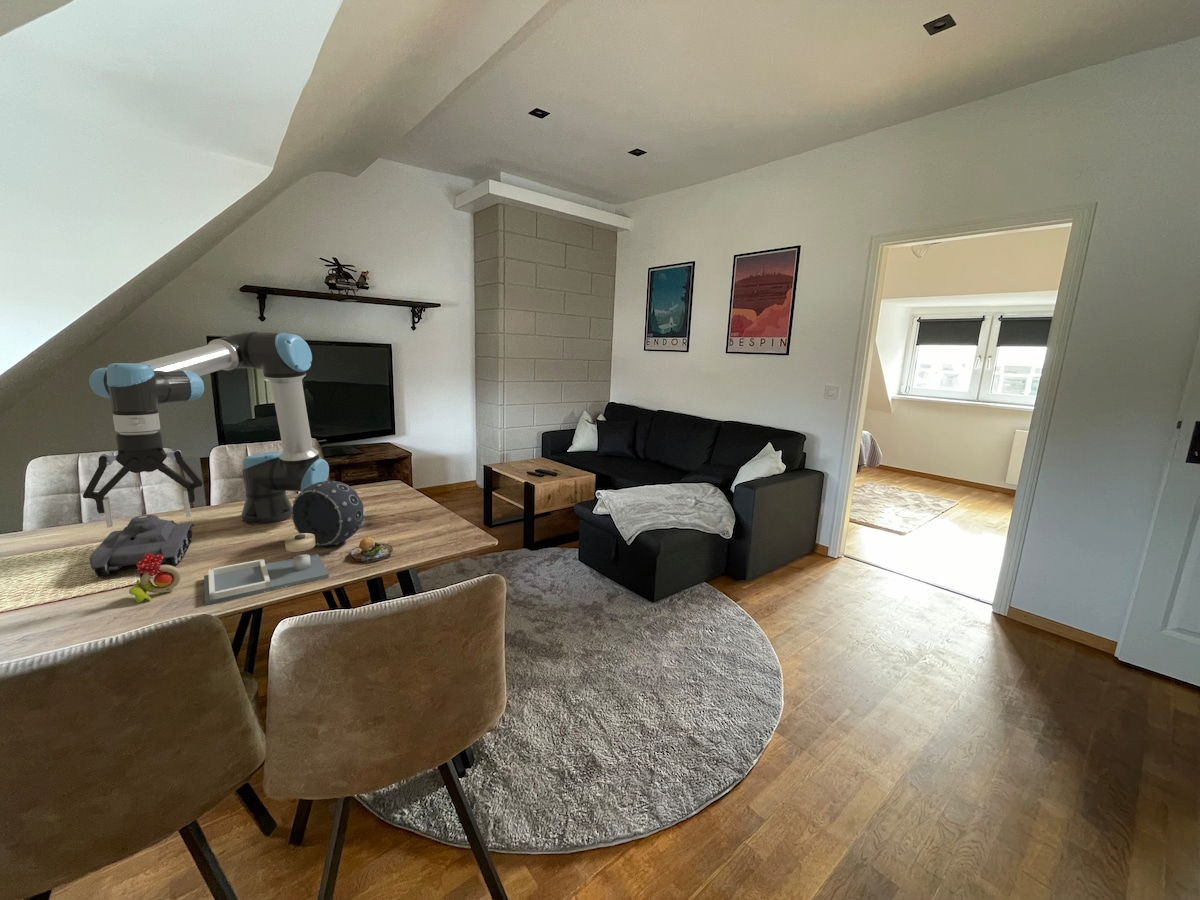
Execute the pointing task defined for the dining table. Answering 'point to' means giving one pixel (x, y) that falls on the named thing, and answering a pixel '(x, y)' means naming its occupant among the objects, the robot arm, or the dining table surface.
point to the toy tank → (142, 544)
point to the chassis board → (260, 577)
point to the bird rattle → (163, 579)
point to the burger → (370, 551)
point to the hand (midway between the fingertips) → (150, 520)
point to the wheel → (300, 542)
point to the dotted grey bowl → (328, 512)
